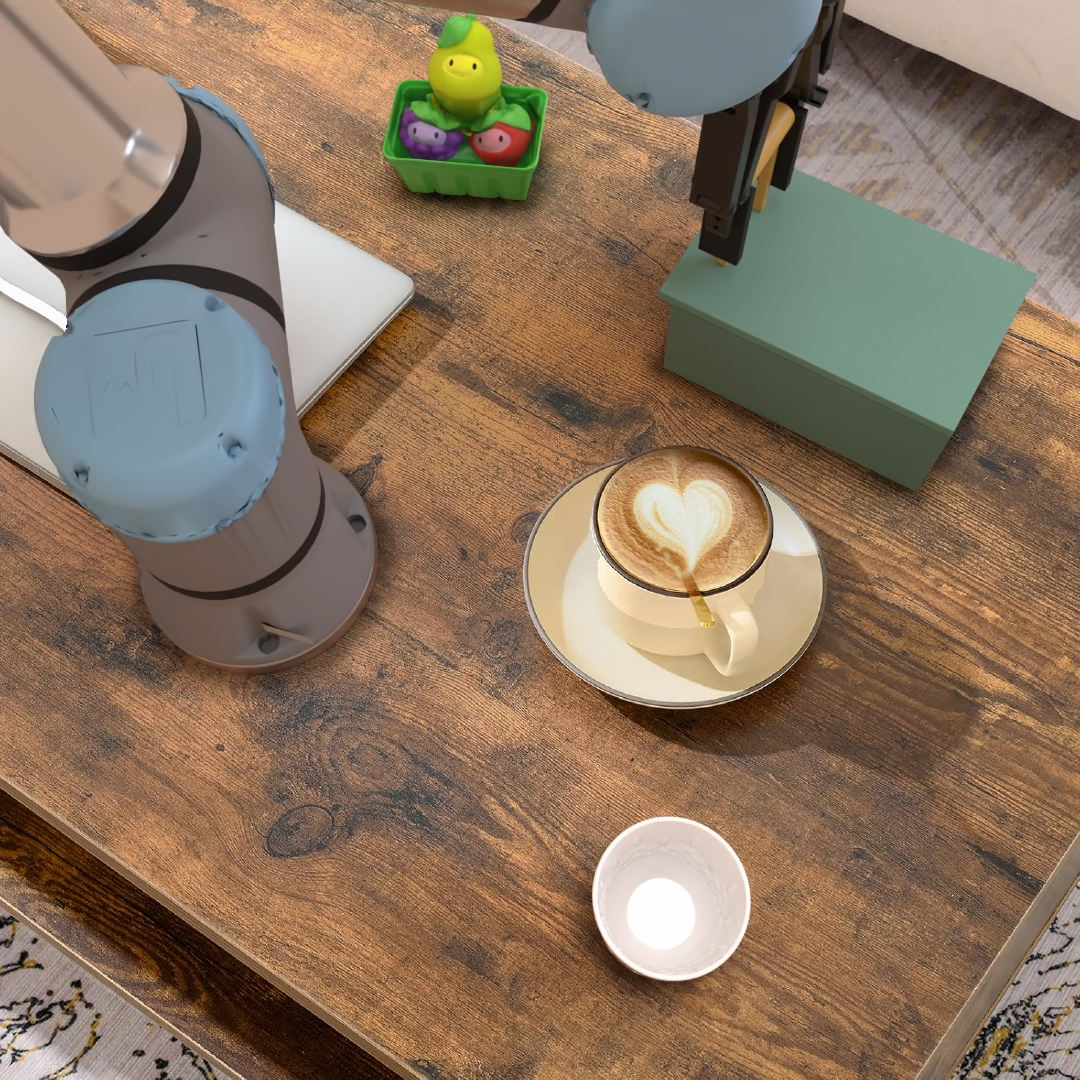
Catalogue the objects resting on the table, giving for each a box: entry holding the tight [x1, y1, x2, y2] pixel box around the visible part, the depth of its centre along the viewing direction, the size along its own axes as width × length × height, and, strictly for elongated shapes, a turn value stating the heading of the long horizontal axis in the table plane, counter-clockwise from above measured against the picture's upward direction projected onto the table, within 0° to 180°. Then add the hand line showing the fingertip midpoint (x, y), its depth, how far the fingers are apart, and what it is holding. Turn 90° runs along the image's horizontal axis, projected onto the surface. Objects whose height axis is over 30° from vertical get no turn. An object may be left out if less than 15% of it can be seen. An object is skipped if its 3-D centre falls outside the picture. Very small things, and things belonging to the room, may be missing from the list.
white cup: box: [591, 816, 752, 982], centre depth 62 cm, size 8×8×10 cm
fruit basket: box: [381, 13, 549, 201], centre depth 84 cm, size 11×9×11 cm
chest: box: [663, 304, 951, 493], centre depth 78 cm, size 19×13×8 cm
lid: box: [657, 102, 1038, 438], centre depth 70 cm, size 20×13×10 cm, turn 59°
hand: (744, 215), depth 74 cm, fingers closed on lid, 6 cm apart
